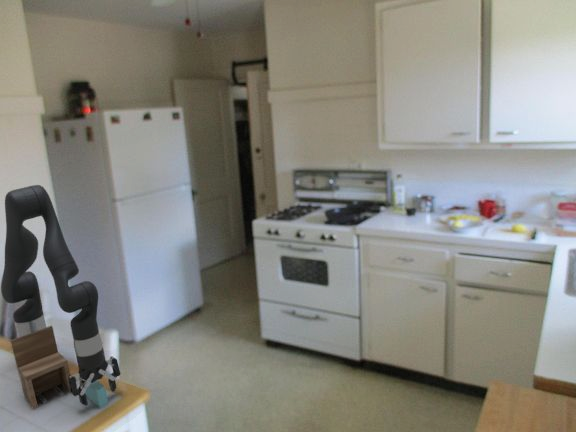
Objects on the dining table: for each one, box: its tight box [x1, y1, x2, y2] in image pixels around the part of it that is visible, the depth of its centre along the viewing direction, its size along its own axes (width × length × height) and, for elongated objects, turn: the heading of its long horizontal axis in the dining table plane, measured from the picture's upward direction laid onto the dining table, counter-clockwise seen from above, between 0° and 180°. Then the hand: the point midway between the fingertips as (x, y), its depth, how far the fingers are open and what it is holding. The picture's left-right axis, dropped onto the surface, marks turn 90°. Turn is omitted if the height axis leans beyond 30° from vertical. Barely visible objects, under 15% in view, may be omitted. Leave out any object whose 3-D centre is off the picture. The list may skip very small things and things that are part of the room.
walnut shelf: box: [10, 325, 71, 410], centre depth 152 cm, size 9×12×20 cm
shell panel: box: [78, 377, 109, 409], centre depth 149 cm, size 14×2×6 cm, turn 44°
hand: (99, 397), depth 147 cm, fingers open, 8 cm apart
